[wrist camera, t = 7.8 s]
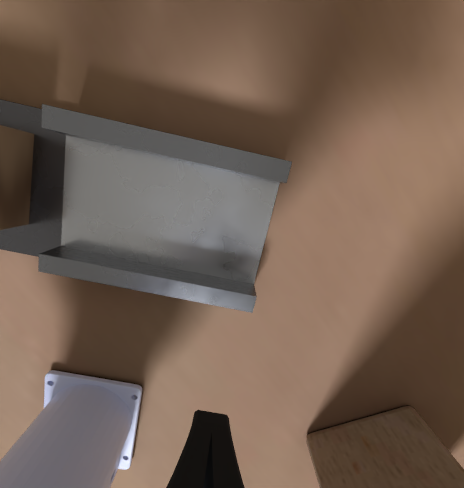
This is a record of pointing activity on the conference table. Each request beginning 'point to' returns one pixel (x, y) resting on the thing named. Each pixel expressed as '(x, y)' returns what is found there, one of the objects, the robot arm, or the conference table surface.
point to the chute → (144, 207)
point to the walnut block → (15, 176)
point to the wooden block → (383, 454)
